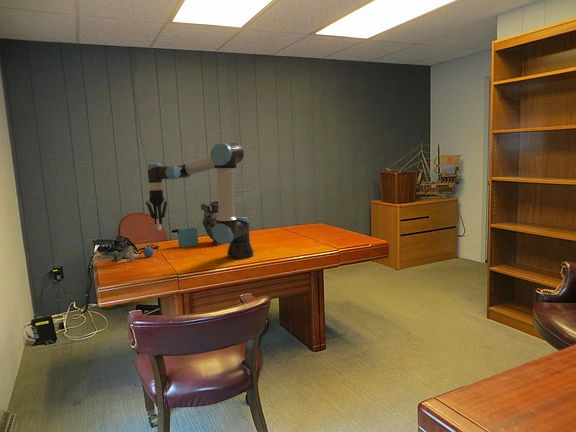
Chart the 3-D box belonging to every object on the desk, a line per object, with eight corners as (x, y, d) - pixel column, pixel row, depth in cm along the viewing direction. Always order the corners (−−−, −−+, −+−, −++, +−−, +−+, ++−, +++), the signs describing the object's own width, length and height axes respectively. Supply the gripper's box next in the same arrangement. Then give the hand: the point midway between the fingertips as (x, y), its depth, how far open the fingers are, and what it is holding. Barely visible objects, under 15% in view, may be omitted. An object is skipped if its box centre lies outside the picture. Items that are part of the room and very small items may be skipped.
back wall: (132, 253, 264) (131, 247, 263) (117, 261, 244) (117, 255, 243) (128, 253, 264) (128, 247, 263) (114, 261, 244) (113, 255, 243)
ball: (144, 247, 256) (146, 257, 256) (140, 248, 250) (142, 258, 250) (154, 245, 256) (156, 255, 256) (150, 246, 250) (152, 256, 250)
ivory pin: (137, 256, 249) (124, 255, 251) (138, 259, 251) (125, 259, 252) (139, 253, 251) (126, 253, 253) (140, 256, 253) (127, 256, 254)
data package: (196, 244, 287) (195, 226, 285) (198, 245, 283) (197, 227, 281) (178, 246, 281) (177, 228, 279) (180, 247, 277) (179, 229, 275)
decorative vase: (233, 238, 300) (230, 199, 295) (237, 244, 282) (234, 202, 278) (202, 241, 294) (199, 201, 290) (204, 247, 276) (201, 204, 272)
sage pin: (134, 260, 246) (133, 246, 244) (133, 261, 243) (131, 247, 242) (130, 260, 246) (129, 246, 245) (129, 261, 243) (127, 247, 242)
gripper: (169, 188, 250) (172, 228, 254) (147, 189, 251) (150, 228, 254) (164, 189, 243) (167, 230, 246) (142, 190, 244) (145, 231, 247)
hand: (159, 229), depth 250 cm, fingers closed
